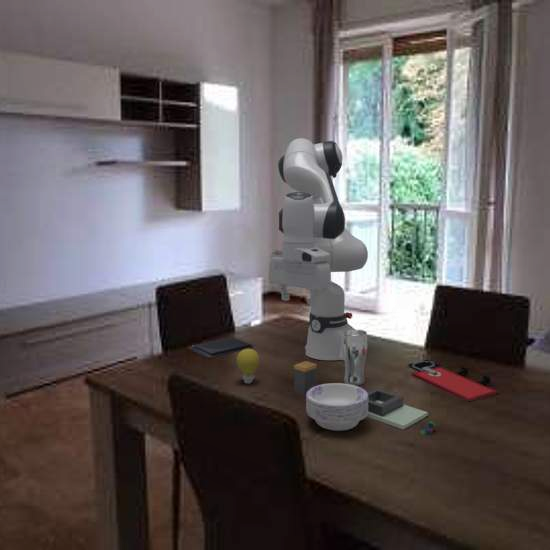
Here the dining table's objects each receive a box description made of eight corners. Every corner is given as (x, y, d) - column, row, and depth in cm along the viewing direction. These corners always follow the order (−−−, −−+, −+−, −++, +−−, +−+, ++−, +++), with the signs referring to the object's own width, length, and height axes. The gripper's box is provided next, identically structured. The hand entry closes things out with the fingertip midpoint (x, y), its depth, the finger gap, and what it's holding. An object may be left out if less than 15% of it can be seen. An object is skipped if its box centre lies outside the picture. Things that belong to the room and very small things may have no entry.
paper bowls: (305, 410, 155) (305, 381, 154) (364, 411, 155) (364, 381, 153) (306, 436, 140) (306, 404, 139) (371, 437, 140) (372, 405, 139)
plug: (305, 387, 171) (306, 360, 169) (316, 391, 168) (316, 364, 167) (293, 392, 167) (294, 365, 166) (304, 396, 165) (304, 368, 163)
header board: (357, 392, 167) (357, 381, 166) (427, 416, 152) (428, 403, 151) (332, 404, 159) (332, 391, 158) (403, 429, 144) (404, 416, 143)
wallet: (207, 355, 196) (184, 344, 208) (207, 360, 196) (185, 349, 208) (257, 344, 208) (233, 334, 220) (257, 349, 208) (233, 339, 220)
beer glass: (339, 384, 174) (340, 334, 171) (345, 376, 180) (346, 328, 177) (363, 387, 171) (364, 336, 168) (368, 379, 178) (369, 330, 175)
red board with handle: (431, 361, 194) (395, 369, 187) (431, 353, 193) (395, 361, 186) (507, 393, 168) (468, 404, 161) (507, 384, 167) (469, 395, 160)
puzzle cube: (424, 428, 146) (425, 419, 145) (435, 431, 144) (436, 422, 143) (416, 434, 142) (417, 425, 142) (428, 437, 141) (428, 428, 140)
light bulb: (256, 386, 171) (256, 353, 170) (234, 385, 173) (233, 352, 171) (261, 378, 178) (261, 346, 176) (240, 377, 179) (239, 345, 177)
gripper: (263, 250, 167) (263, 299, 169) (319, 257, 153) (318, 309, 155) (279, 248, 172) (279, 296, 174) (334, 254, 157) (334, 306, 160)
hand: (298, 302), depth 164 cm, fingers open, 8 cm apart
